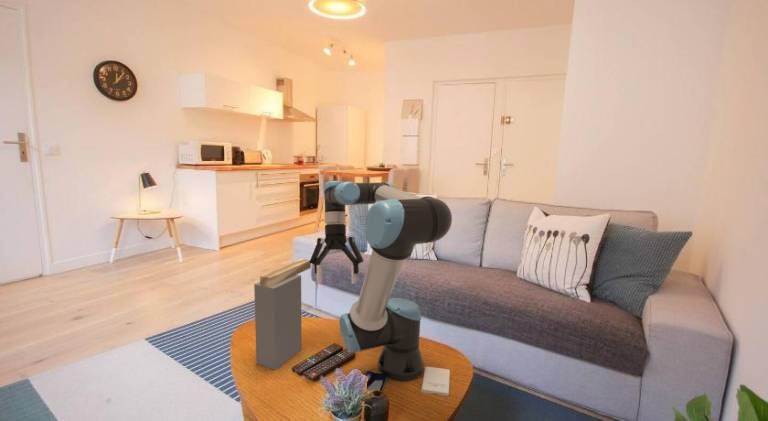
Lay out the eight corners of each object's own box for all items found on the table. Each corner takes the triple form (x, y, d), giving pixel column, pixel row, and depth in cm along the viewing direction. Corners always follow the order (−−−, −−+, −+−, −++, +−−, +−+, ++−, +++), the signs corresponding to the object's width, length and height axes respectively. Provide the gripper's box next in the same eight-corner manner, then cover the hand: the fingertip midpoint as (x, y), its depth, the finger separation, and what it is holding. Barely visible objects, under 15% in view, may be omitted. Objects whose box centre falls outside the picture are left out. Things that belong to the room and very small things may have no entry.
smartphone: (352, 400, 108) (366, 370, 122) (352, 403, 108) (366, 372, 122) (376, 405, 106) (388, 374, 120) (376, 408, 106) (388, 376, 121)
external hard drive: (449, 374, 124) (448, 397, 112) (424, 370, 125) (421, 393, 113) (450, 369, 123) (449, 393, 111) (425, 366, 125) (421, 388, 113)
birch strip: (310, 267, 138) (310, 260, 138) (269, 287, 118) (269, 277, 118) (301, 266, 140) (301, 258, 139) (260, 284, 120) (259, 275, 120)
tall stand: (301, 349, 134) (301, 275, 130) (275, 370, 122) (273, 288, 117) (283, 344, 138) (282, 271, 133) (256, 363, 125) (254, 284, 120)
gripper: (371, 222, 135) (372, 282, 133) (310, 225, 143) (311, 281, 141) (363, 222, 128) (365, 284, 126) (299, 225, 136) (300, 284, 134)
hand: (336, 283), depth 134 cm, fingers open, 13 cm apart
